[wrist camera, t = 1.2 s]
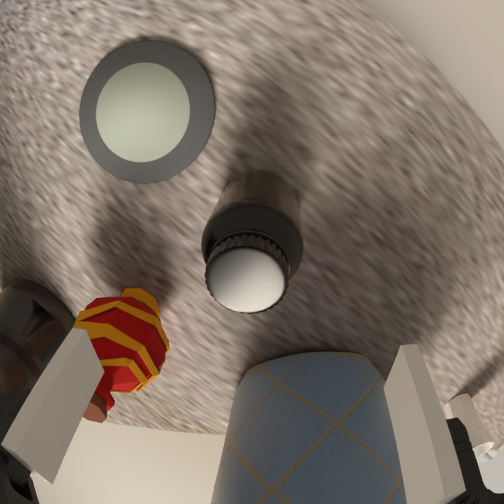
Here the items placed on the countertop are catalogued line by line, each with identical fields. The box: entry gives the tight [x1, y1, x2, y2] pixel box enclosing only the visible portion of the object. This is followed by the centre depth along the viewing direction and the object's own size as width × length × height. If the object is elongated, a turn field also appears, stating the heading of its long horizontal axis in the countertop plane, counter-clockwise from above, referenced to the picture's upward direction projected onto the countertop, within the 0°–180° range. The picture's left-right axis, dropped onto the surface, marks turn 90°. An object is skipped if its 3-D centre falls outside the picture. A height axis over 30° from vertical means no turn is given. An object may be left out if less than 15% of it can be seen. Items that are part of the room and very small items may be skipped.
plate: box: [79, 41, 215, 183], centre depth 25 cm, size 13×13×1 cm
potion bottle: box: [73, 288, 169, 423], centre depth 28 cm, size 10×10×15 cm
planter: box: [211, 352, 407, 504], centre depth 30 cm, size 23×23×24 cm
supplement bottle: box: [201, 170, 303, 314], centre depth 23 cm, size 7×7×12 cm
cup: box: [444, 393, 493, 458], centre depth 37 cm, size 7×7×11 cm
